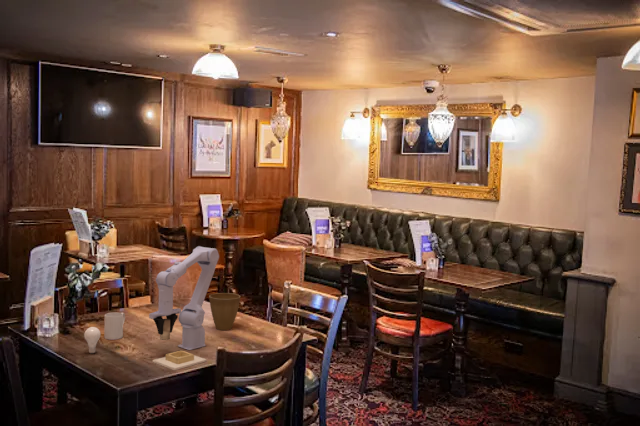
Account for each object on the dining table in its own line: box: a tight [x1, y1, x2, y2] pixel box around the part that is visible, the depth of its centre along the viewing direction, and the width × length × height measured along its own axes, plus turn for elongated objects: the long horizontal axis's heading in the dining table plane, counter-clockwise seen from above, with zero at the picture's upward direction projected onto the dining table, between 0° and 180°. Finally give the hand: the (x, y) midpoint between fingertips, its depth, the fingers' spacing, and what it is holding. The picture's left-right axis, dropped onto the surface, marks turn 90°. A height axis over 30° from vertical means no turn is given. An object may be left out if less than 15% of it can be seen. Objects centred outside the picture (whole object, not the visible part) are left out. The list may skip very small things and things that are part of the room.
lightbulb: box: [83, 326, 102, 354], centre depth 268 cm, size 6×6×11 cm
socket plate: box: [152, 350, 208, 371], centre depth 262 cm, size 16×14×3 cm
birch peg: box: [159, 318, 171, 341], centre depth 268 cm, size 4×4×8 cm
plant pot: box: [208, 292, 241, 331], centre depth 314 cm, size 15×15×16 cm
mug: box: [103, 311, 126, 341], centre depth 293 cm, size 12×8×10 cm, turn 165°
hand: (165, 333), depth 268 cm, fingers closed on birch peg, 4 cm apart
